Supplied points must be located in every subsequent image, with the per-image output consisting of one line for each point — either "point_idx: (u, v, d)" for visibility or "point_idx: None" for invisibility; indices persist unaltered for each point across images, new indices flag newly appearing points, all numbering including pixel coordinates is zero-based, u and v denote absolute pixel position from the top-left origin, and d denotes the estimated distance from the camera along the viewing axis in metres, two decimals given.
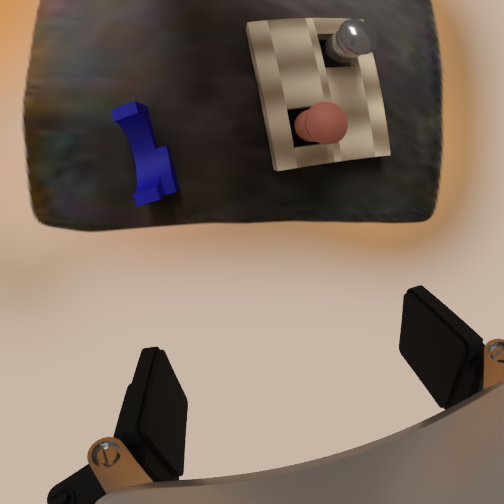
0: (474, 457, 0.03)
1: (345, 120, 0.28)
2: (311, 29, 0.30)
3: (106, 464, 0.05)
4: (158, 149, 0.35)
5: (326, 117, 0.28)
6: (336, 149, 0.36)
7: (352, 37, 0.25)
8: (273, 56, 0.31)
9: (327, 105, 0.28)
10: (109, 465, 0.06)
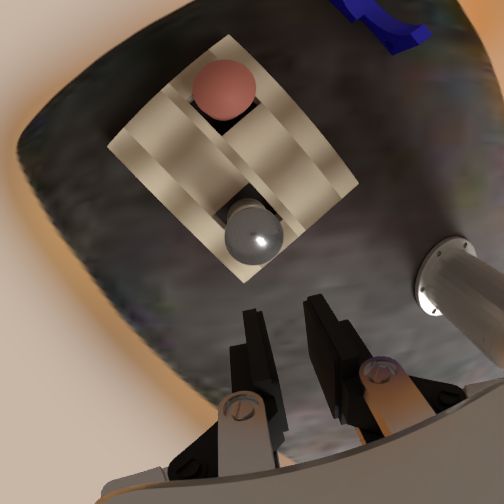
0: (474, 457, 0.03)
1: (203, 106, 0.20)
2: (291, 220, 0.30)
3: (235, 417, 0.07)
4: (360, 14, 0.24)
5: (229, 93, 0.19)
6: (175, 97, 0.25)
7: (261, 227, 0.23)
8: (312, 156, 0.28)
9: (237, 108, 0.20)
10: (238, 419, 0.07)
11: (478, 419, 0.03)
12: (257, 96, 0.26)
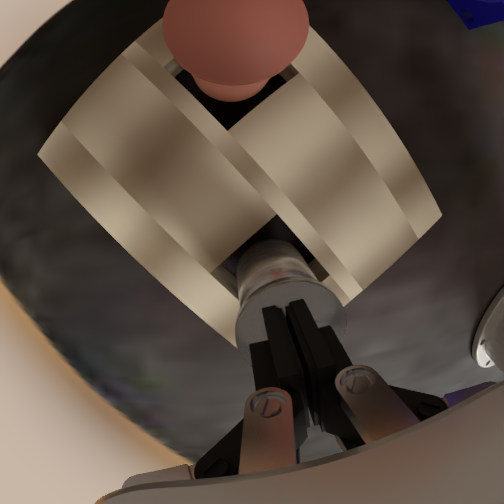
0: (474, 457, 0.03)
1: (185, 58, 0.07)
2: (343, 276, 0.18)
3: (261, 414, 0.07)
4: None
5: (248, 28, 0.07)
6: (145, 63, 0.13)
7: None
8: (381, 170, 0.16)
9: (268, 62, 0.08)
10: (264, 415, 0.07)
11: (478, 419, 0.03)
12: (292, 62, 0.13)
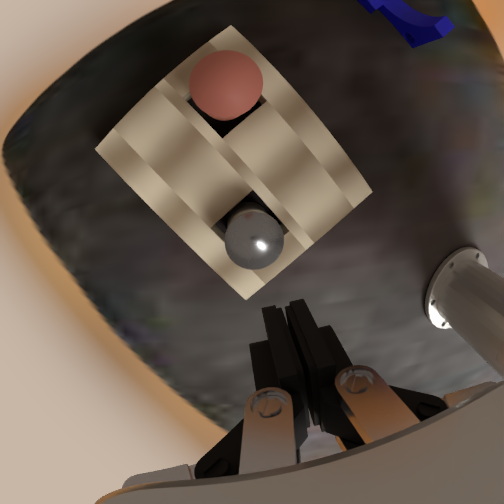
0: (474, 457, 0.03)
1: (201, 104, 0.17)
2: (298, 232, 0.27)
3: (262, 414, 0.07)
4: (379, 4, 0.21)
5: (232, 88, 0.17)
6: (171, 94, 0.22)
7: (261, 231, 0.23)
8: (322, 161, 0.25)
9: (241, 106, 0.17)
10: (264, 415, 0.07)
11: (478, 419, 0.03)
12: (262, 94, 0.23)
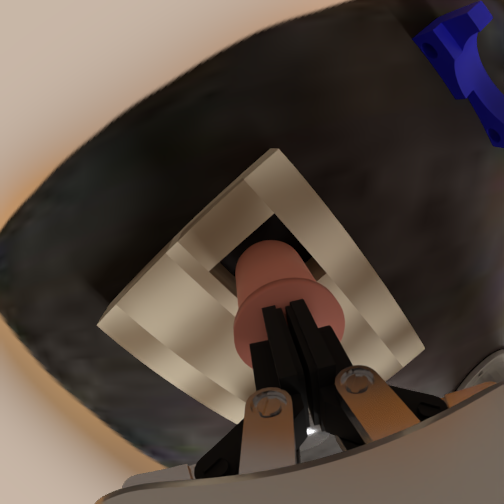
0: (474, 457, 0.03)
1: None
2: None
3: (262, 414, 0.07)
4: (470, 89, 0.16)
5: None
6: (191, 266, 0.17)
7: (309, 428, 0.18)
8: (380, 332, 0.20)
9: None
10: (264, 415, 0.07)
11: (478, 419, 0.03)
12: (321, 263, 0.18)
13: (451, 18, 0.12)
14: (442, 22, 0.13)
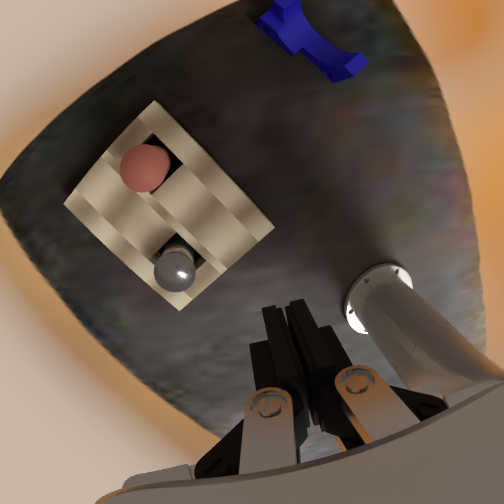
0: (474, 457, 0.03)
1: (128, 184, 0.26)
2: (214, 261, 0.36)
3: (262, 414, 0.07)
4: (299, 47, 0.29)
5: (146, 172, 0.26)
6: (113, 162, 0.30)
7: (178, 266, 0.32)
8: (229, 207, 0.34)
9: (153, 184, 0.27)
10: (264, 415, 0.07)
11: (478, 419, 0.03)
12: (179, 158, 0.31)
13: (271, 6, 0.25)
14: (269, 10, 0.26)
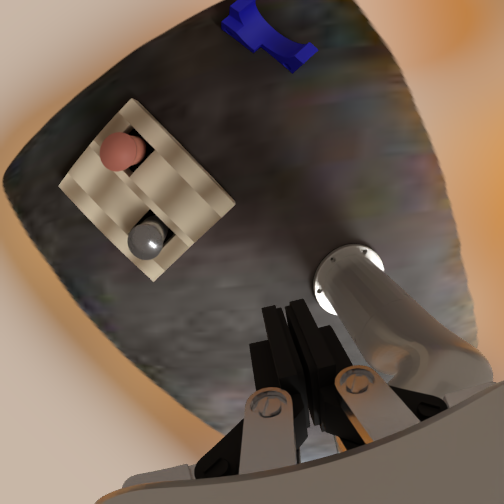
0: (474, 457, 0.03)
1: (106, 165, 0.31)
2: (182, 235, 0.40)
3: (262, 414, 0.07)
4: (258, 44, 0.33)
5: (120, 155, 0.31)
6: (98, 150, 0.34)
7: (148, 236, 0.36)
8: (194, 186, 0.38)
9: (125, 164, 0.31)
10: (264, 415, 0.07)
11: (478, 419, 0.03)
12: (152, 145, 0.35)
13: (230, 11, 0.29)
14: (229, 14, 0.30)
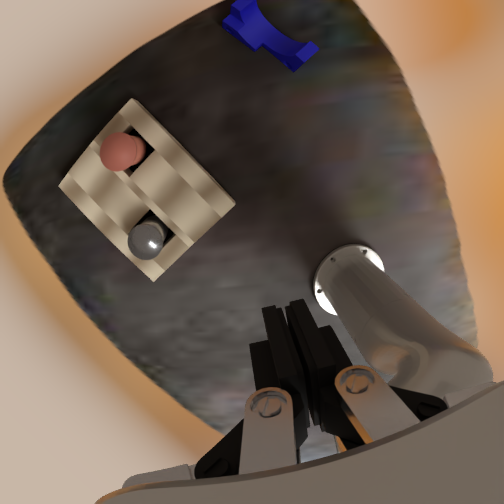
0: (474, 457, 0.03)
1: (106, 165, 0.31)
2: (182, 235, 0.40)
3: (262, 414, 0.07)
4: (259, 43, 0.33)
5: (120, 155, 0.31)
6: (98, 150, 0.34)
7: (148, 236, 0.36)
8: (194, 186, 0.38)
9: (125, 164, 0.31)
10: (264, 415, 0.07)
11: (478, 419, 0.03)
12: (152, 145, 0.35)
13: (231, 10, 0.29)
14: (230, 13, 0.30)
